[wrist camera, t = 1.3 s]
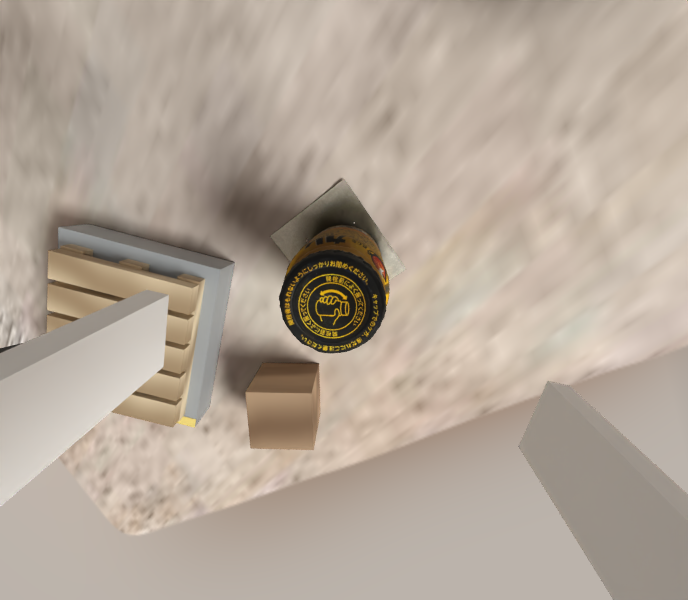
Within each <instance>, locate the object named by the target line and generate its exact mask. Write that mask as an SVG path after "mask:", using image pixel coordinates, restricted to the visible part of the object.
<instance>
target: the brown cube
mask: <svg viewBox="0 0 688 600" xmlns="http://www.w3.org/2000/svg"><path fill="white" fill-rule="evenodd" d="M245 394H246V405H247V415H248V426H249V437H250V447H251V448H257V449H296V450H314V445H315V439H316V434H317V428H318V423H319V417H320V384H319V364H312V363H262V365H261V367H260V368H259V370H258V372H257V373H256V375H255V377H254V378H253V380H252V382H251V383H250V385H249V387H248V389H247V390H246V392H245Z"/></svg>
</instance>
